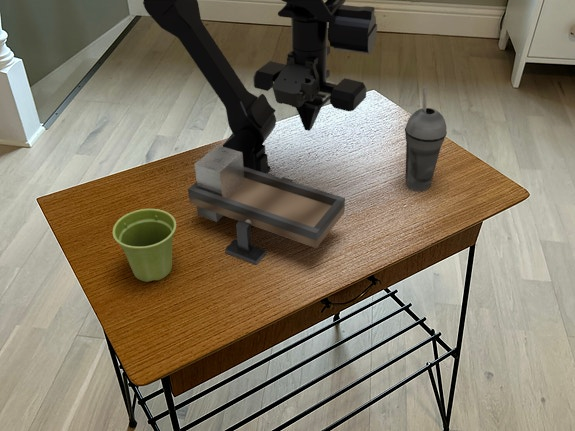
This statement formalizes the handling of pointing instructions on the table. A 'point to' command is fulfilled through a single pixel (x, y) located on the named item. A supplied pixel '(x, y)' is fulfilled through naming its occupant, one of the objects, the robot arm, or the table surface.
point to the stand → (246, 243)
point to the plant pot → (147, 242)
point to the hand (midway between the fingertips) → (308, 129)
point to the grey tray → (274, 207)
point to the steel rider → (220, 171)
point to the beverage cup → (423, 145)
